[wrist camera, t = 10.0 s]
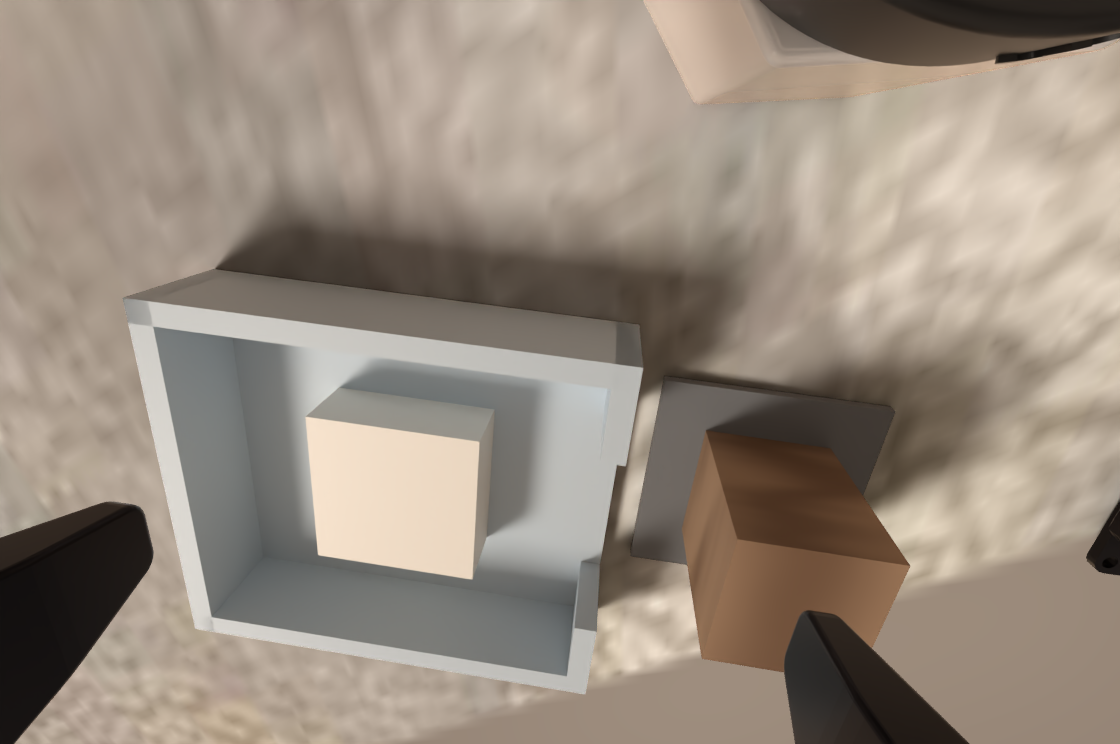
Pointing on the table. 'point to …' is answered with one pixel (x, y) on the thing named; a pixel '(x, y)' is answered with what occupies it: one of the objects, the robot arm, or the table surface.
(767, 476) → the walnut block
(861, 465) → the rubber mat
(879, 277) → the table surface
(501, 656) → the access box
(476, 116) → the table surface
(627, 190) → the table surface
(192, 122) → the table surface
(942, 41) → the jar
